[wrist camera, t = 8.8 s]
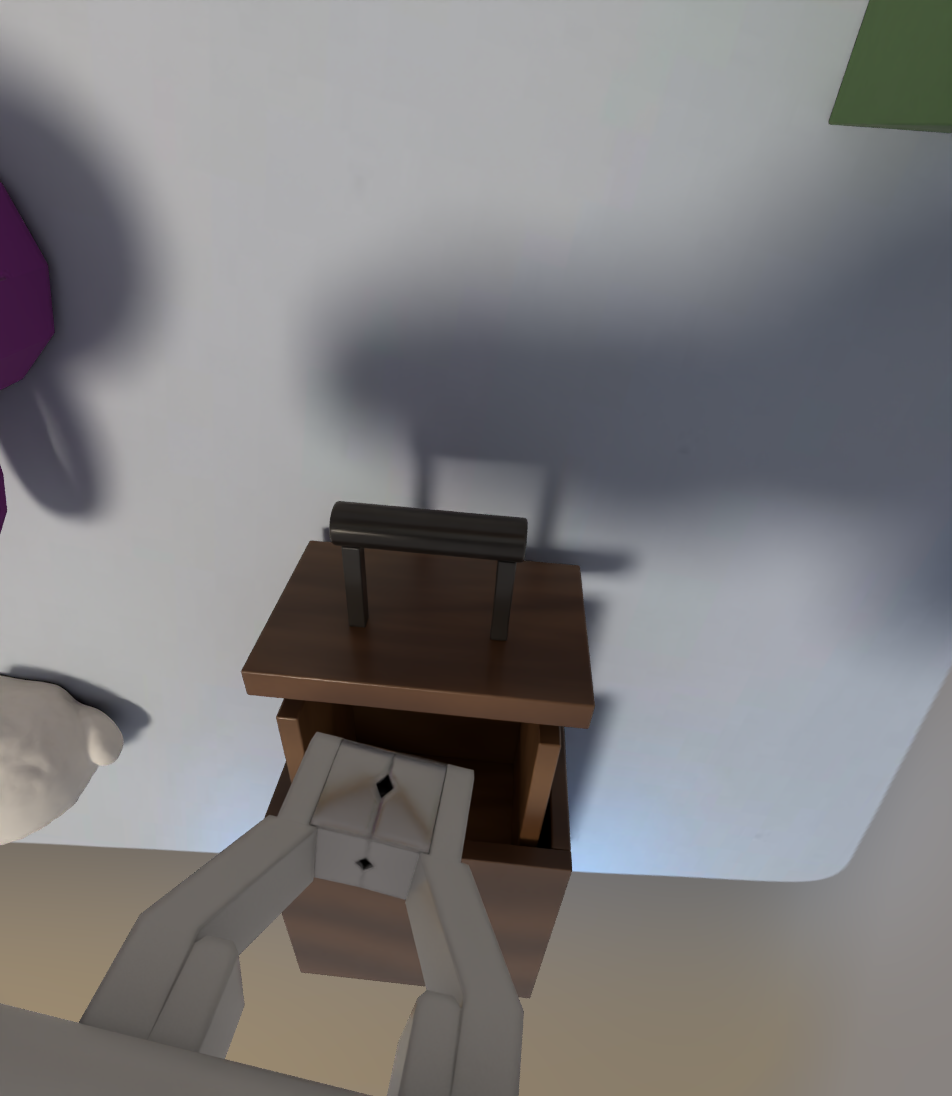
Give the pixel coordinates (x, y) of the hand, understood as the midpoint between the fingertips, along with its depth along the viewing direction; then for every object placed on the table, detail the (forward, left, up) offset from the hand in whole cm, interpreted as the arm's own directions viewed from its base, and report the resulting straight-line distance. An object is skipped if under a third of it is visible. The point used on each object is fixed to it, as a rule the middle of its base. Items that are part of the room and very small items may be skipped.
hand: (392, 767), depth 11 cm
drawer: (+1, +9, -13) cm, 16 cm away
